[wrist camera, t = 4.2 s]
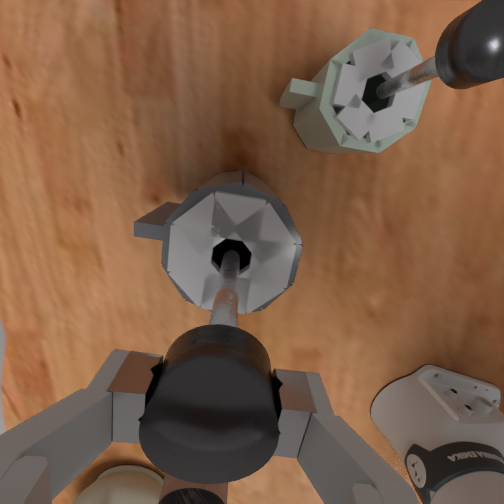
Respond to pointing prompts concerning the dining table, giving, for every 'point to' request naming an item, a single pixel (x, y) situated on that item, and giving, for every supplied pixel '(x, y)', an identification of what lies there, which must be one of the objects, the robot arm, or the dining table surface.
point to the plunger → (213, 398)
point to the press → (227, 240)
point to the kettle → (123, 487)
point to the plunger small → (461, 52)
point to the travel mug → (191, 492)
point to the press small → (358, 97)
